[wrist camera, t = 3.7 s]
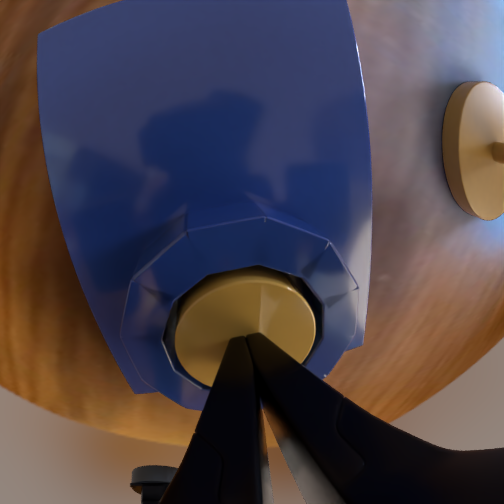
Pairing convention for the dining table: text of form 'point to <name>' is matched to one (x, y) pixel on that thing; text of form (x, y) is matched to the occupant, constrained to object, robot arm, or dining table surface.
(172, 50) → the switch base
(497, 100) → the table lamp
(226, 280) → the lamp switch
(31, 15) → the dining table surface
